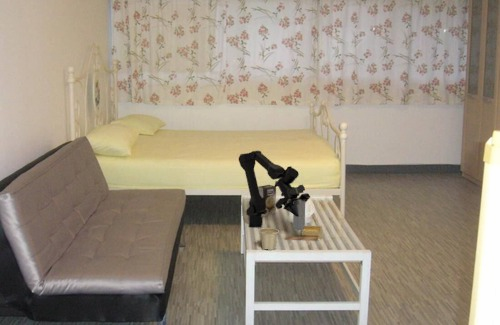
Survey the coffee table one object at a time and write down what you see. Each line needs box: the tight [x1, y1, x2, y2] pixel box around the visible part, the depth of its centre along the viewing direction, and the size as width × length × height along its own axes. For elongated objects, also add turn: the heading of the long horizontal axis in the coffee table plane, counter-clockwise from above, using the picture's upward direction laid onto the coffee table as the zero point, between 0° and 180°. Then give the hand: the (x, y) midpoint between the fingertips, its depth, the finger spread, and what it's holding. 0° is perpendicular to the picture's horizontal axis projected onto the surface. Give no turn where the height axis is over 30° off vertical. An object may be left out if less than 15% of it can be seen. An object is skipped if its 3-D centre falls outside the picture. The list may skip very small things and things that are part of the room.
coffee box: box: [258, 184, 277, 217], centre depth 340 cm, size 9×6×16 cm
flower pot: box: [258, 227, 280, 251], centre depth 282 cm, size 9×9×9 cm
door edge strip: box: [284, 235, 319, 242], centre depth 295 cm, size 16×2×1 cm, turn 84°
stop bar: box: [292, 200, 306, 231], centre depth 290 cm, size 4×4×14 cm
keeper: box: [301, 225, 323, 240], centre depth 301 cm, size 10×10×4 cm
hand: (301, 215), depth 289 cm, fingers closed on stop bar, 4 cm apart
